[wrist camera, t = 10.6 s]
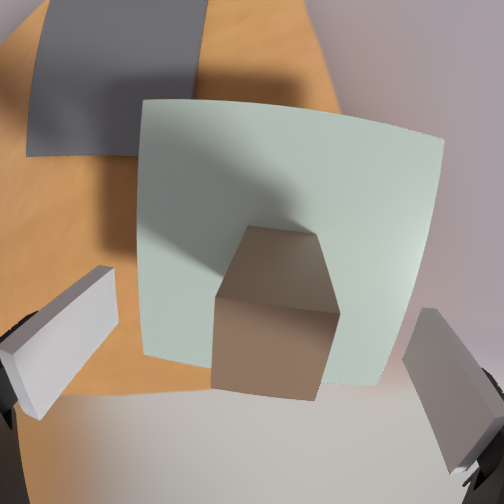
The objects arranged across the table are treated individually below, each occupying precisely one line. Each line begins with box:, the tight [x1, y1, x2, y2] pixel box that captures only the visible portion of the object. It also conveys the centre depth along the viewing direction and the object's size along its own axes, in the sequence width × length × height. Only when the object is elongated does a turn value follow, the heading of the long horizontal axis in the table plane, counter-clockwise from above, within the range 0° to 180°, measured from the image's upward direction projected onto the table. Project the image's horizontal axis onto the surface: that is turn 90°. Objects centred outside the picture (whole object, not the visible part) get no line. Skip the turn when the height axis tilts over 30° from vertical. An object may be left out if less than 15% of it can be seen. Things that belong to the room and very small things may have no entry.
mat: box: [26, 0, 208, 157], centre depth 24 cm, size 20×20×1 cm
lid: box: [137, 99, 444, 401], centre depth 15 cm, size 18×18×10 cm
